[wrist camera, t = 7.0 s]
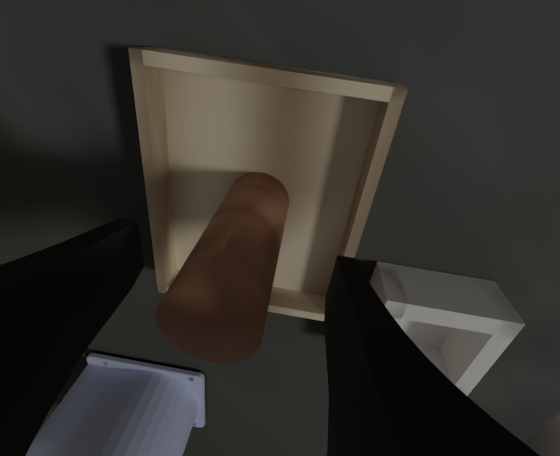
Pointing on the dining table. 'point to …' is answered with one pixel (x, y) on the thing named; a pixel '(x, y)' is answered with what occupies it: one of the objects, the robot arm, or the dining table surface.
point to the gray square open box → (449, 318)
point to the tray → (261, 157)
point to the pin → (228, 275)
